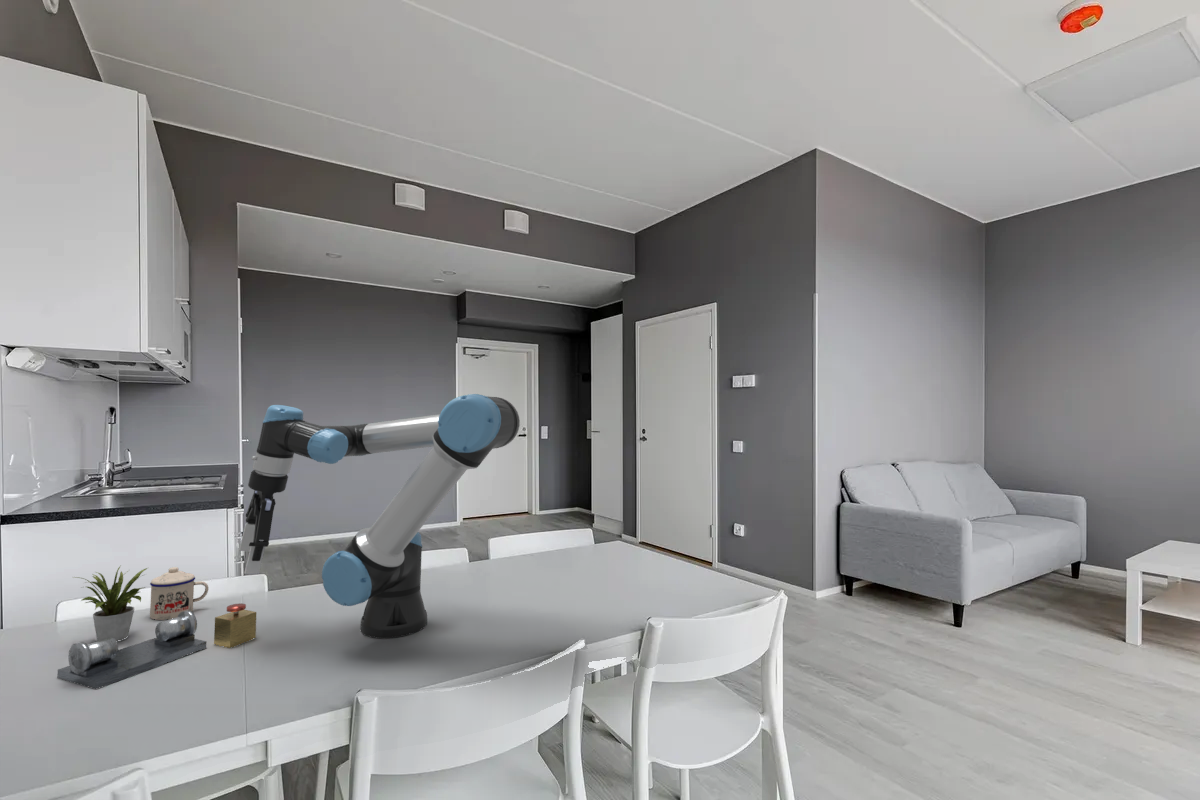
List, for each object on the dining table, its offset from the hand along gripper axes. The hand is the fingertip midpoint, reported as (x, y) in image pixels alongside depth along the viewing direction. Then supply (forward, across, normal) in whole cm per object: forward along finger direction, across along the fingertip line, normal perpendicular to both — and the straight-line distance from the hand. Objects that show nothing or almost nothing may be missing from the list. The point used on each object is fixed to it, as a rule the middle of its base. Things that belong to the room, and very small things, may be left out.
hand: (248, 561), depth 129 cm
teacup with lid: (+23, -23, -9) cm, 34 cm away
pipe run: (+19, +6, -16) cm, 26 cm away
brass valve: (+16, +5, 0) cm, 17 cm away
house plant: (+23, -11, -22) cm, 34 cm away
